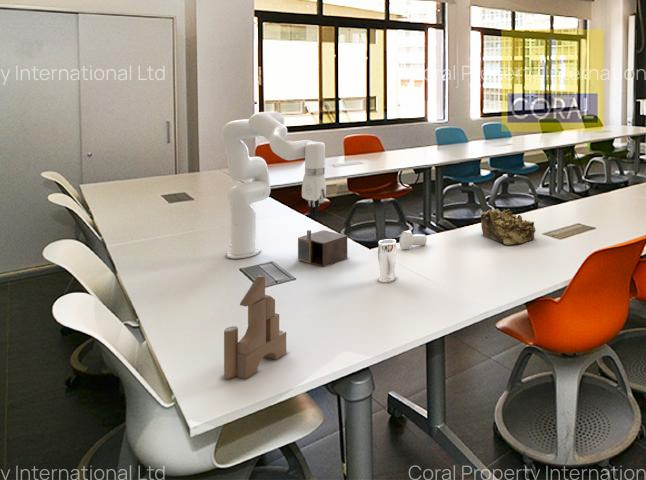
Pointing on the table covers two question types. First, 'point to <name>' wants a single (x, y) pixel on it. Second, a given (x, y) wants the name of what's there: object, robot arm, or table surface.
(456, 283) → the table surface
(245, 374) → the wooden toy
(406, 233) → the spotlight
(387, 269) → the beer glass
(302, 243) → the sliding door
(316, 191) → the robot arm
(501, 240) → the mineral
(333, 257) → the cabinet
